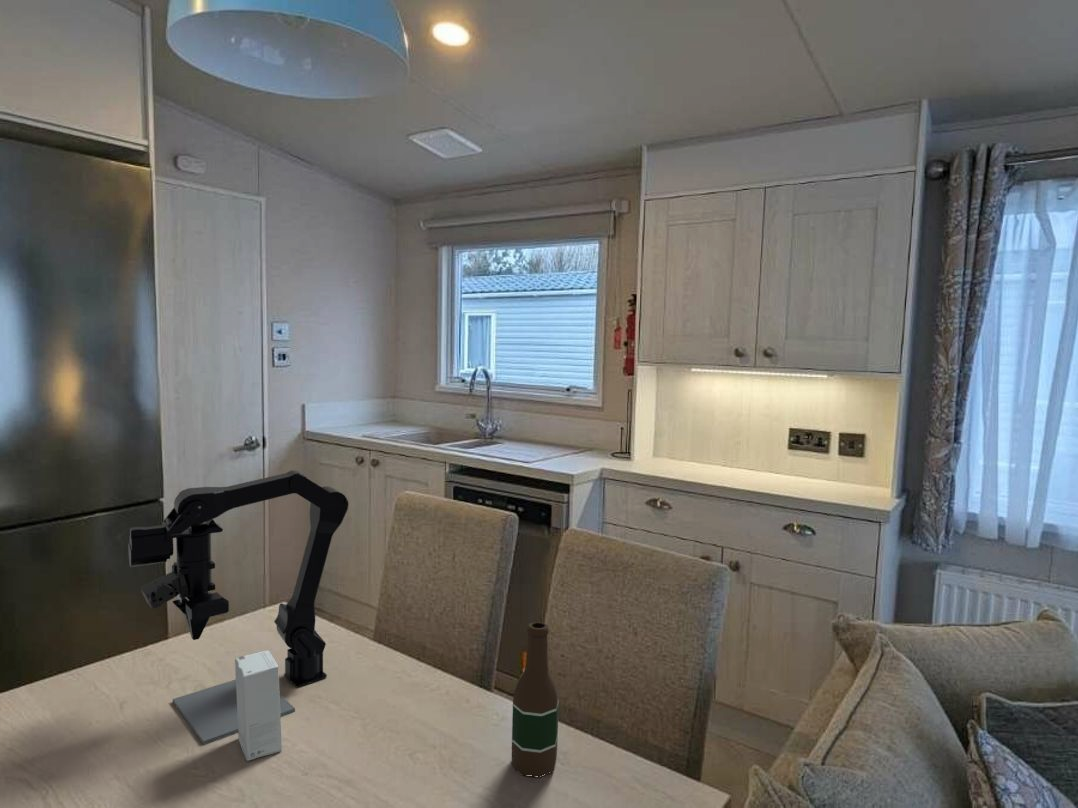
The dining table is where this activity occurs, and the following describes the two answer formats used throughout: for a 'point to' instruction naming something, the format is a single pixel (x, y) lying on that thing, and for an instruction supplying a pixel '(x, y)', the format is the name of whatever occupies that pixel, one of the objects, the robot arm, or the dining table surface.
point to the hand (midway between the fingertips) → (195, 638)
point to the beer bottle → (535, 709)
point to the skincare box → (258, 704)
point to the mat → (216, 711)
